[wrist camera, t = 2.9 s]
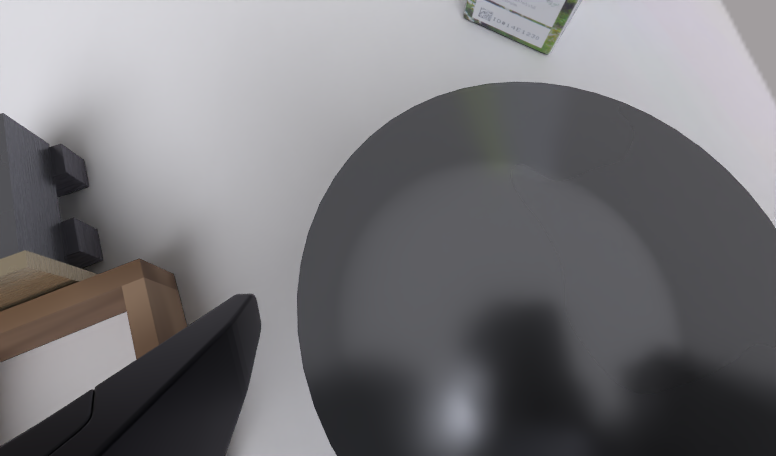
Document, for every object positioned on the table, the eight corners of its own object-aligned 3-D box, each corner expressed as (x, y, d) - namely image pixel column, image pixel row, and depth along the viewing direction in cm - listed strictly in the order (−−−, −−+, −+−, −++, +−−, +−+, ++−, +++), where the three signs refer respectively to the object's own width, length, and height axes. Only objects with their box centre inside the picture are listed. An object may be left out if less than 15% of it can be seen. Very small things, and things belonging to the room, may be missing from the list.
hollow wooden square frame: (227, 482, 14) (195, 506, 11) (-28, 609, 12) (-124, 666, 10) (173, 274, 16) (139, 258, 14) (-41, 358, 15) (-118, 356, 13)
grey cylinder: (444, 434, 14) (797, 797, 2) (341, 374, 15) (184, 405, 3) (489, 326, 16) (847, 192, 4) (393, 276, 17) (433, 26, 4)
